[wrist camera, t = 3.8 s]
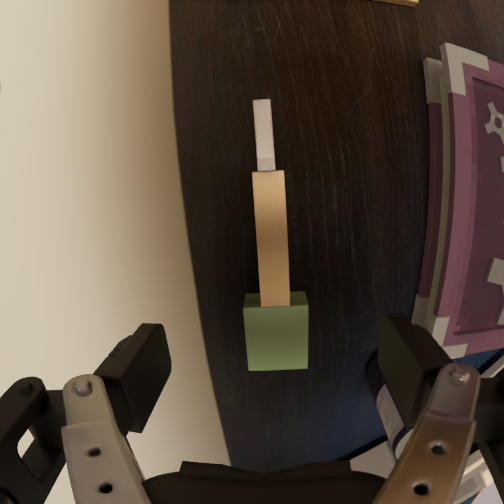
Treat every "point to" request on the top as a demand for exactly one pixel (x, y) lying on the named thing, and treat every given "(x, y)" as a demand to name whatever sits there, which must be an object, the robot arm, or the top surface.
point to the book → (464, 204)
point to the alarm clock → (475, 471)
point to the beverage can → (388, 409)
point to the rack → (402, 2)
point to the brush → (273, 267)
